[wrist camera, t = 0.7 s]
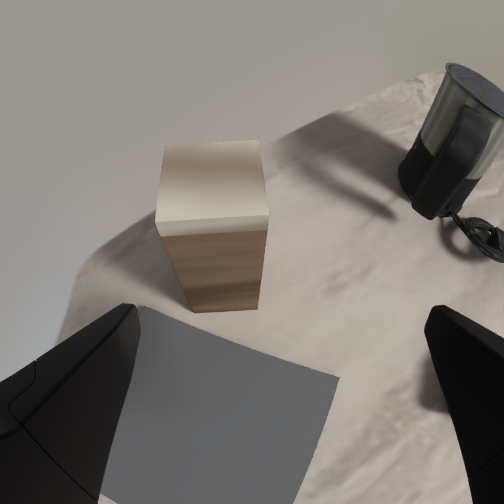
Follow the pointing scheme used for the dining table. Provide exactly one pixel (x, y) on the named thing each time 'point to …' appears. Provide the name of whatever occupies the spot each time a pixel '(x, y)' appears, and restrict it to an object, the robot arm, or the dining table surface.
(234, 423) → the charcoal mat
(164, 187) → the wooden block
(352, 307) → the dining table surface
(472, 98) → the milk frother
